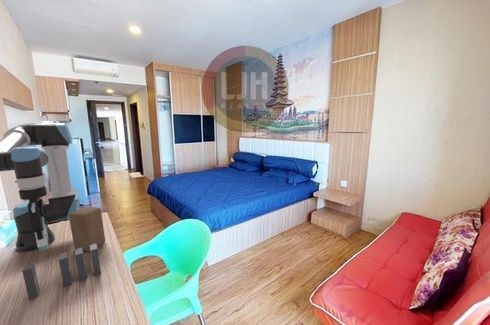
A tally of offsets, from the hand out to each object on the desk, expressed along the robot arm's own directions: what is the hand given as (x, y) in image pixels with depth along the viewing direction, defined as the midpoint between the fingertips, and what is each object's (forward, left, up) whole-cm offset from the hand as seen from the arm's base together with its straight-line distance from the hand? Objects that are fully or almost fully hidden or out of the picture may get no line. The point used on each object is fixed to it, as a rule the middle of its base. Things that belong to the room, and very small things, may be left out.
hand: (43, 243), depth 87 cm
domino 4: (+7, +11, -17) cm, 21 cm away
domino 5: (+7, +16, -17) cm, 24 cm away
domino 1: (+7, -4, -17) cm, 18 cm away
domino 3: (+7, +6, -17) cm, 19 cm away
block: (-19, +15, -17) cm, 30 cm away
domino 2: (0, 0, -2) cm, 2 cm away
